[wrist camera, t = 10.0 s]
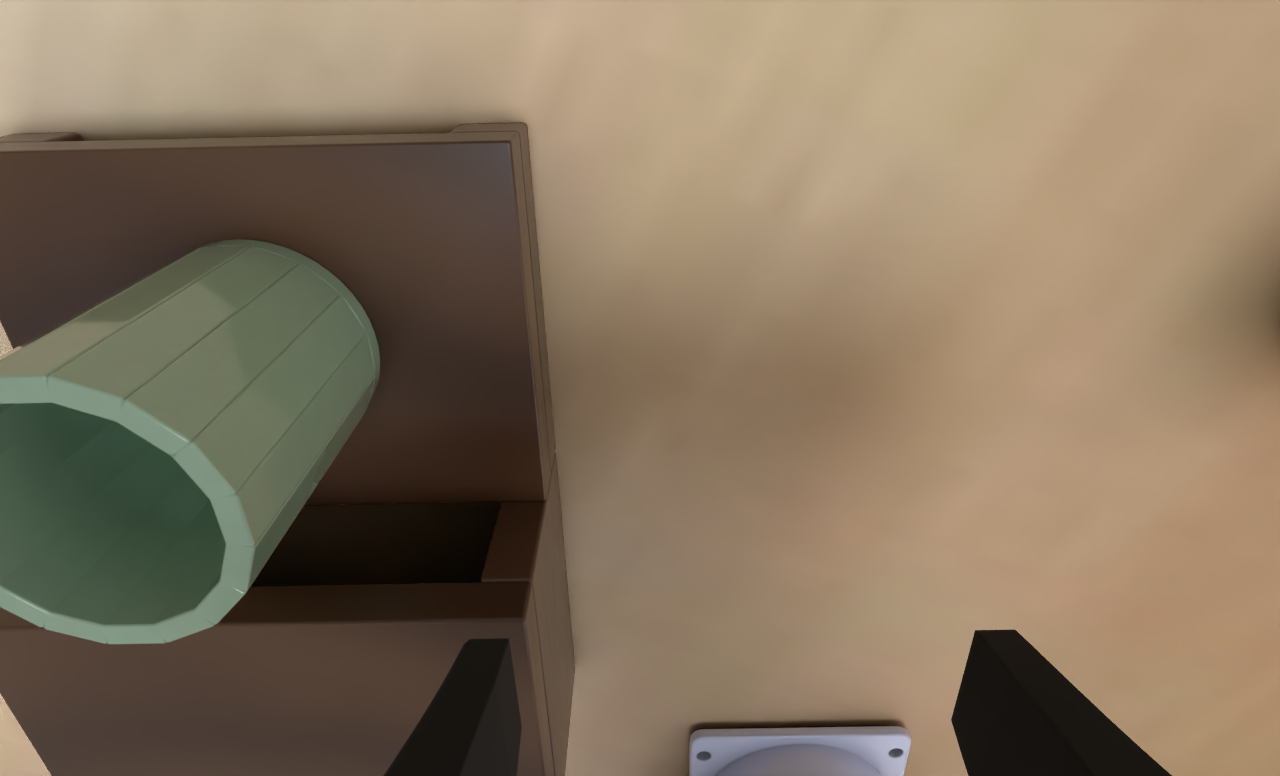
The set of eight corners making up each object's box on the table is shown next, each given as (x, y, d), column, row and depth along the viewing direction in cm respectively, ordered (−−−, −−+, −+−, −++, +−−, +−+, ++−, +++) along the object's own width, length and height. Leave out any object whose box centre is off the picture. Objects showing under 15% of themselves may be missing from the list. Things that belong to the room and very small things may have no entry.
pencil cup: (398, 438, 18) (286, 643, 12) (193, 442, 18) (-14, 647, 12) (356, 236, 16) (194, 372, 10) (119, 241, 16) (-179, 379, 10)
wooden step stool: (575, 667, 25) (556, 866, 20) (231, 673, 25) (110, 873, 20) (527, 122, 17) (469, 186, 11) (13, 133, 17) (-311, 202, 11)
